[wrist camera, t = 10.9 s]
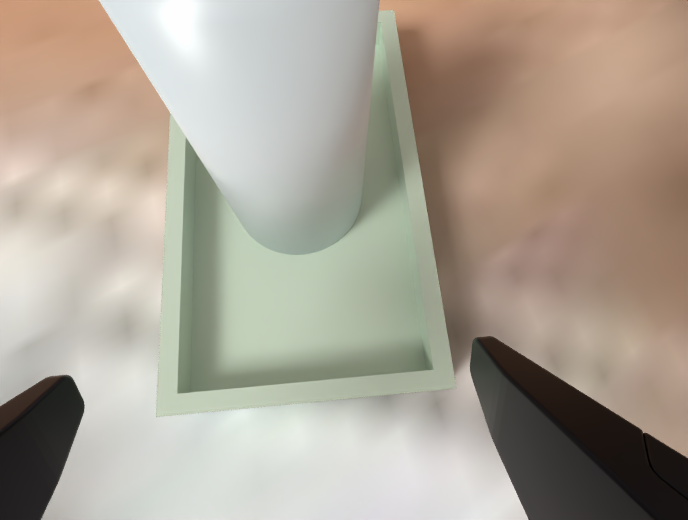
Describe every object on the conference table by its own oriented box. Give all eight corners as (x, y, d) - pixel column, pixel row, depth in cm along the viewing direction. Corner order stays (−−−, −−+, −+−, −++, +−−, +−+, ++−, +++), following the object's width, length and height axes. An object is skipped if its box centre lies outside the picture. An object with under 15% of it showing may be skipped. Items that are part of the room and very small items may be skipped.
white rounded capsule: (387, 195, 20) (454, -102, 8) (294, 281, 19) (200, 86, 7) (302, 119, 22) (245, -235, 9) (209, 194, 20) (0, -102, 8)
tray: (441, 388, 19) (456, 388, 16) (180, 413, 18) (155, 416, 16) (388, 46, 25) (393, 10, 22) (190, 59, 24) (174, 23, 22)
